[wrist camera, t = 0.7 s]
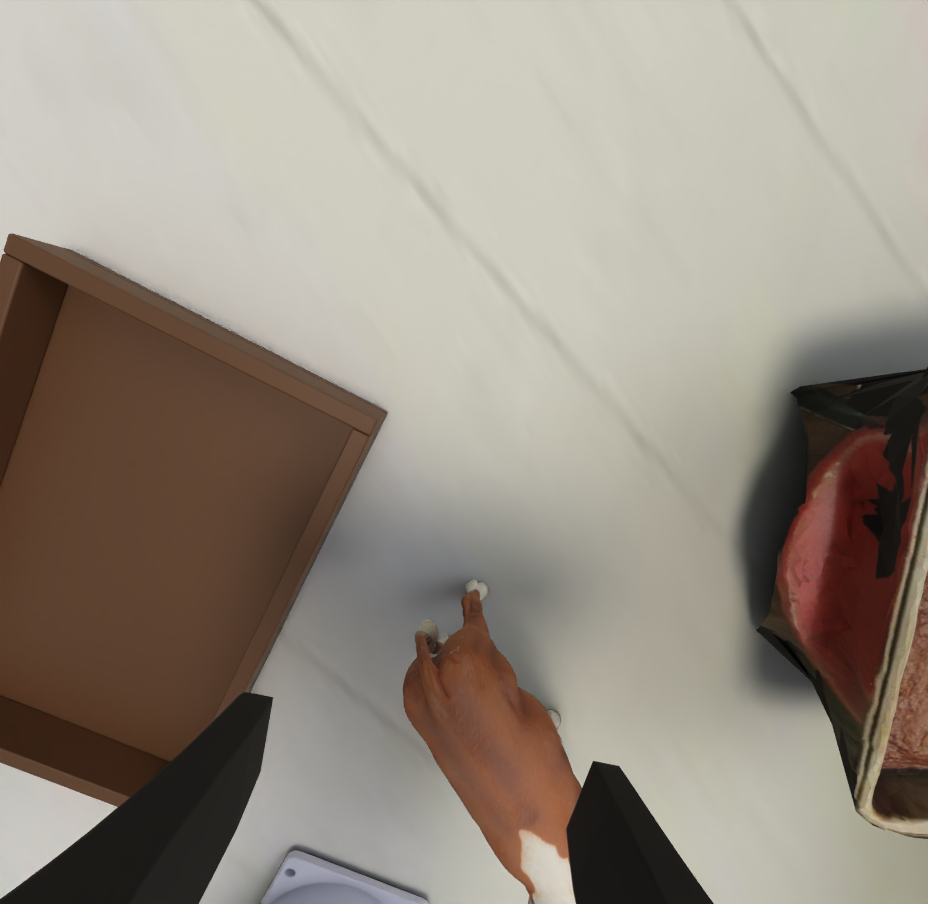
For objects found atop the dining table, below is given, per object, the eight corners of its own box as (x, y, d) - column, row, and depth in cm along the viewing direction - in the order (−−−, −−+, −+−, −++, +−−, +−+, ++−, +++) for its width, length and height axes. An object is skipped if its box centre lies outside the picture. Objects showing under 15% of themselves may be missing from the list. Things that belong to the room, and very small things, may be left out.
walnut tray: (207, 777, 22) (177, 829, 20) (-69, 669, 21) (-139, 710, 18) (388, 411, 19) (378, 419, 16) (71, 249, 17) (7, 232, 15)
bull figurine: (509, 804, 23) (538, 1045, 15) (398, 580, 20) (361, 726, 12) (590, 775, 23) (664, 1004, 15) (489, 544, 20) (511, 668, 12)
